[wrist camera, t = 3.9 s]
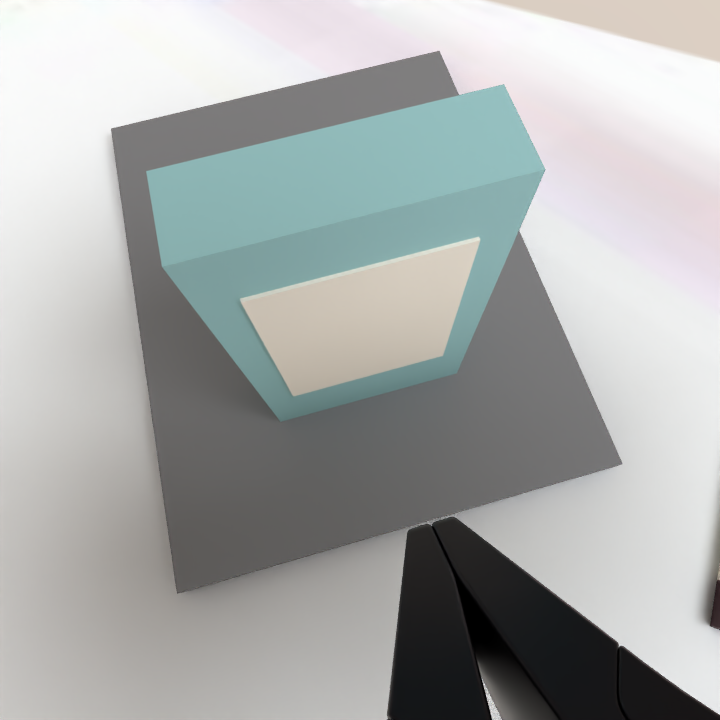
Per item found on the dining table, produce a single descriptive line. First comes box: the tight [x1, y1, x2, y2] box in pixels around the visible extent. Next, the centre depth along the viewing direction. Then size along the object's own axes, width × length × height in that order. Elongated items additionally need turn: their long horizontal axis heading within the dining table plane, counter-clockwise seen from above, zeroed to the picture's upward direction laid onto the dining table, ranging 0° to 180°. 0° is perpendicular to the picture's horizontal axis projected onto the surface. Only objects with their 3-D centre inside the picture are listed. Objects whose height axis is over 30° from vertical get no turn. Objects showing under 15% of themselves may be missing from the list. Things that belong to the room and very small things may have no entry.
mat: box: [111, 51, 622, 593], centre depth 19 cm, size 18×14×1 cm
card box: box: [146, 84, 545, 422], centre depth 13 cm, size 2×6×10 cm, turn 106°
